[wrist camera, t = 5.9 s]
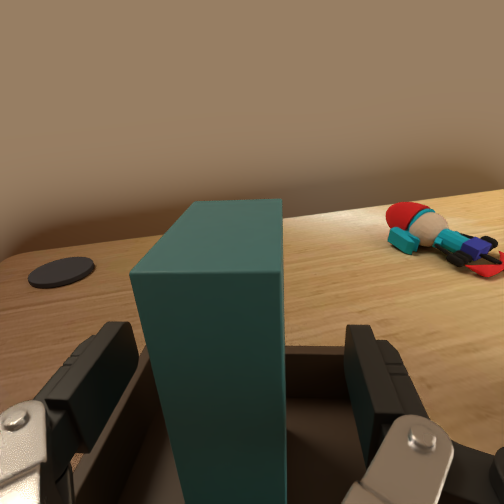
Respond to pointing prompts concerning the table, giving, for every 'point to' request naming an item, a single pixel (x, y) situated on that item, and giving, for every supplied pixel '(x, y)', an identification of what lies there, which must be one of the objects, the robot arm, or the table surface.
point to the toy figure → (439, 237)
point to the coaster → (61, 272)
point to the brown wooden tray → (297, 433)
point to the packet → (220, 348)
